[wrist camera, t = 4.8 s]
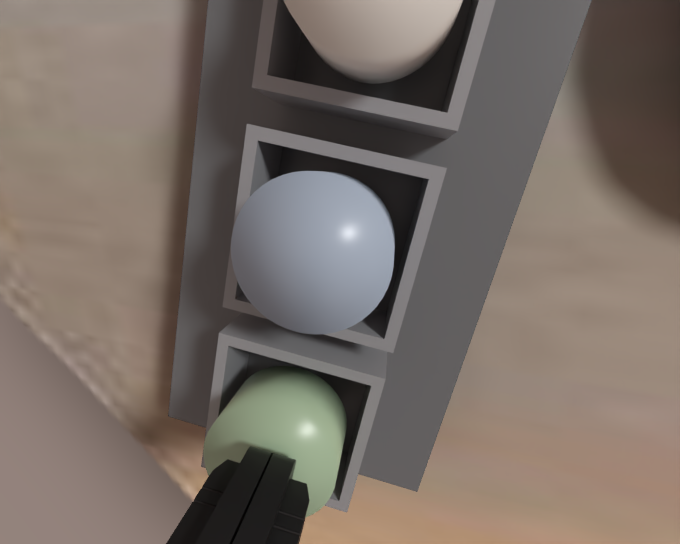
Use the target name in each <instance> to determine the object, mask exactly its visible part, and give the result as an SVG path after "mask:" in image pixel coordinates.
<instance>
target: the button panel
mask: <svg viewBox="0 0 680 544" xmlns="http://www.w3.org/2000/svg"><path fill="white" fill-rule="evenodd" d="M591 1H592V0H463V2H462V4H461V7H460V10H459V12H458V15H457V18H456V21H455V23H454V25H453V27H452V29H451V32H450V34H449V35H448V37H447V39H446V40H445V42H444V44H443V45H442V46H441V48H440V49H439V50H438V51H437V53H436V54H435V55H434V56H433V57H432V58H431V59H430V60H429V61H428V62H427V63H426V64H424V65H423V66H422V67H421V68H419V69H418V70H416V71H415V72H413V73H411V74H410V75H407V76H405V77H403V78H401V79H398V80H395V81H391V82H386V83H376V84H369V83H362V82H357V81H354V80H351V79H348V78H346V77H344V76H342V75H340V74H339V73H337V72H335V71H334V70H333V69H331V68H330V67H329V66H328V65H327V64H326V63H325V62H324V61H323V60H322V59H321V58H320V57H319V55H318V54H317V52H316V51H315V50H314V48H313V47H312V45H311V44H310V42H309V41H308V39H307V38H306V36H305V35H304V33H303V32H302V30H301V29H300V27H299V26H298V24H297V23H296V21H295V20H294V18H293V17H292V15H291V14H290V12H289V10H288V8H287V6H286V4H285V2H284V0H208V8H207V18H206V29H205V39H204V50H203V60H202V70H201V81H200V91H199V102H198V112H197V122H196V133H195V143H194V154H193V164H192V174H191V185H190V195H189V206H188V216H187V226H186V237H185V247H184V258H183V268H182V278H181V289H180V299H179V310H178V320H177V330H176V341H175V351H174V362H173V372H172V382H171V393H170V403H169V414H168V416H169V417H172V418H176V419H179V420H182V421H185V422H189V423H192V424H195V425H199V426H202V427H205V428H206V434H205V438H206V436H207V433H208V431H209V429H210V428H211V426H212V425H213V423H214V422H215V421H216V419H217V418H218V417H219V415H220V414H221V413H222V411H223V410H224V409H225V407H226V406H227V405H228V403H229V402H230V401H231V399H232V398H233V396H234V395H235V394H236V392H237V391H238V390H239V388H240V387H241V386H242V384H243V383H244V382H245V381H246V380H247V379H248V378H249V377H250V376H251V375H253V374H254V373H256V372H258V371H260V370H262V369H265V368H268V367H273V366H293V367H297V368H301V369H304V370H307V371H309V372H311V373H313V374H315V375H317V376H319V377H320V378H322V379H323V380H324V381H325V382H327V383H328V384H329V385H330V386H331V387H332V388H333V389H334V391H335V392H336V393H337V395H338V396H339V398H340V400H341V401H342V404H343V406H344V409H345V412H346V418H347V429H346V434H345V439H344V444H343V449H342V454H341V459H340V464H339V469H338V474H337V479H336V484H335V488H334V491H333V493H332V495H331V497H330V499H329V500H328V501H327V503H326V504H325V506H328V507H331V508H334V509H337V510H341V511H344V512H347V511H348V507H349V504H350V500H351V497H352V493H353V490H354V487H355V483H356V480H357V476H358V474H360V475H363V476H367V477H370V478H373V479H377V480H380V481H383V482H387V483H390V484H393V485H396V486H400V487H403V488H406V489H410V490H413V491H416V492H417V491H418V488H419V485H420V482H421V479H422V477H423V474H424V471H425V468H426V465H427V463H428V460H429V457H430V454H431V451H432V449H433V446H434V443H435V440H436V437H437V434H438V432H439V429H440V426H441V423H442V420H443V418H444V415H445V412H446V409H447V406H448V403H449V401H450V398H451V395H452V392H453V389H454V387H455V384H456V381H457V378H458V375H459V373H460V370H461V367H462V364H463V361H464V358H465V356H466V353H467V350H468V347H469V344H470V342H471V339H472V336H473V333H474V330H475V327H476V325H477V322H478V319H479V316H480V313H481V311H482V308H483V305H484V302H485V299H486V297H487V294H488V291H489V288H490V285H491V282H492V280H493V277H494V274H495V271H496V268H497V266H498V263H499V260H500V257H501V254H502V251H503V249H504V246H505V243H506V240H507V237H508V235H509V232H510V229H511V226H512V223H513V221H514V218H515V215H516V212H517V209H518V206H519V204H520V201H521V198H522V195H523V192H524V190H525V187H526V184H527V181H528V178H529V175H530V173H531V170H532V167H533V164H534V161H535V159H536V156H537V153H538V150H539V147H540V144H541V142H542V139H543V136H544V133H545V130H546V128H547V125H548V122H549V119H550V116H551V114H552V111H553V108H554V105H555V102H556V99H557V97H558V94H559V91H560V88H561V85H562V83H563V80H564V77H565V74H566V71H567V68H568V66H569V63H570V60H571V57H572V54H573V52H574V49H575V46H576V43H577V40H578V38H579V35H580V32H581V29H582V26H583V23H584V21H585V18H586V15H587V12H588V9H589V7H590V4H591ZM299 171H325V172H336V173H342V174H345V175H348V176H351V177H353V178H356V179H358V180H360V181H361V182H363V183H364V184H366V185H367V186H368V187H370V188H371V189H372V190H373V191H374V192H375V193H376V194H377V195H378V196H379V197H380V199H381V200H382V202H383V203H384V205H385V206H386V208H387V210H388V212H389V214H390V217H391V220H392V223H393V228H394V234H395V250H394V267H393V273H392V278H391V281H390V284H389V286H388V289H387V291H386V293H385V295H384V297H383V298H382V300H381V301H380V303H379V304H378V306H377V307H376V308H375V309H374V310H373V311H372V312H371V313H370V314H369V315H368V316H367V317H365V318H364V319H363V320H362V321H360V322H358V323H357V324H355V325H354V326H351V327H349V328H347V329H345V330H341V331H338V332H335V333H329V334H304V333H299V332H295V331H292V330H289V329H286V328H284V327H282V326H279V325H277V324H275V323H274V322H272V321H271V320H269V319H267V318H266V317H265V316H264V315H263V314H261V313H260V312H259V311H258V310H257V309H256V308H255V307H254V306H253V305H252V304H251V302H250V301H249V300H248V299H247V297H246V296H245V294H244V293H243V291H242V289H241V288H240V285H239V283H238V281H237V279H236V276H235V273H234V269H233V265H232V259H231V237H232V232H233V227H234V224H235V221H236V219H237V216H238V214H239V212H240V210H241V208H242V207H243V205H244V204H245V202H246V201H247V200H248V198H249V197H250V196H251V195H252V194H253V193H254V192H255V191H256V190H257V189H259V188H260V187H261V186H262V185H264V184H265V183H267V182H269V181H270V180H272V179H274V178H276V177H279V176H281V175H284V174H288V173H292V172H299ZM201 467H204V468H206V467H205V463H204V456H203V457H202V464H201Z"/></svg>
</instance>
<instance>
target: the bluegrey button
mask: <svg viewBox="0 0 680 544" xmlns="http://www.w3.org/2000/svg"><path fill="white" fill-rule="evenodd" d="M394 250H395V234H394V228H393V223H392V220H391V217H390V214H389V212H388V210H387V208H386V206H385V205H384V203H383V202H382V200H381V199H380V197H379V196H378V195H377V194H376V193H375V192H374V191H373V190H372V189H371V188H370V187H368V186H367V185H366V184H364V183H363V182H361V181H360V180H358V179H356V178H353V177H351V176H348V175H345V174H342V173H336V172H325V171H299V172H292V173H288V174H284V175H281V176H279V177H276V178H274V179H272V180H270V181H269V182H267V183H265V184H264V185H262V186H261V187H260V188H259V189H257V190H256V191H255V192H254V193H253V194H252V195H251V196H250V197H249V198H248V200H247V201H246V202H245V204H244V205H243V207H242V208H241V210H240V212H239V214H238V216H237V219H236V221H235V224H234V227H233V232H232V237H231V259H232V265H233V269H234V273H235V276H236V279H237V281H238V283H239V285H240V288H241V289H242V291H243V293H244V294H245V296H246V297H247V299H248V300H249V301H250V302H251V304H252V305H253V306H254V307H255V308H256V309H257V310H258V311H259V312H260V313H261V314H263V315H264V316H265V317H266V318H267V319H269V320H271V321H272V322H274V323H275V324H277V325H279V326H282V327H284V328H286V329H289V330H292V331H295V332H299V333H304V334H329V333H335V332H338V331H341V330H345V329H347V328H349V327H351V326H354V325H355V324H357V323H358V322H360V321H362V320H363V319H364V318H365V317H367V316H368V315H369V314H370V313H371V312H372V311H373V310H374V309H375V308H376V307H377V306H378V304H379V303H380V301H381V300H382V298H383V297H384V295H385V293H386V291H387V289H388V286H389V284H390V281H391V278H392V273H393V267H394Z"/></svg>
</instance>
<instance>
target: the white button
mask: <svg viewBox="0 0 680 544" xmlns="http://www.w3.org/2000/svg"><path fill="white" fill-rule="evenodd" d="M284 2H285V4H286V6H287V8H288V10H289V12H290V14H291V15H292V17H293V18H294V20H295V21H296V23H297V24H298V26H299V27H300V29H301V30H302V32H303V33H304V35H305V36H306V38H307V39H308V41H309V42H310V44H311V45H312V47H313V48H314V50H315V51H316V52H317V54H318V55H319V57H320V58H321V59H322V60H323V61H324V62H325V63H326V64H327V65H328V66H329V67H330V68H331V69H333V70H334V71H335V72H337V73H339V74H340V75H342V76H344V77H346V78H348V79H351V80H354V81H357V82H362V83H369V84H376V83H386V82H391V81H395V80H398V79H401V78H403V77H405V76H407V75H410V74H411V73H413V72H415V71H416V70H418V69H419V68H421V67H422V66H423V65H424V64H426V63H427V62H428V61H429V60H430V59H431V58H432V57H433V56H434V55H435V54H436V53H437V51H438V50H439V49H440V48H441V46H442V45H443V44H444V42H445V40H446V39H447V37H448V35H449V34H450V32H451V29H452V27H453V25H454V23H455V21H456V18H457V15H458V12H459V10H460V7H461V4H462V2H463V0H284Z"/></svg>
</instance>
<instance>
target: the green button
mask: <svg viewBox="0 0 680 544" xmlns="http://www.w3.org/2000/svg"><path fill="white" fill-rule="evenodd" d="M346 429H347V418H346V412H345V409H344V406H343V404H342V401H341V400H340V398H339V396H338V395H337V393H336V392H335V391H334V389H333V388H332V387H331V386H330V385H329V384H328V383H327V382H325V381H324V380H323V379H322V378H320V377H319V376H317V375H315V374H313V373H311V372H309V371H307V370H304V369H301V368H297V367H293V366H273V367H268V368H265V369H262V370H260V371H258V372H256V373H254V374H253V375H251V376H250V377H249V378H248V379H247V380H246V381H245V382H244V383H243V384H242V386H241V387H240V388H239V390H238V391H237V392H236V394H235V395H234V396H233V398H232V399H231V401H230V402H229V403H228V405H227V406H226V407H225V409H224V410H223V411H222V413H221V414H220V415H219V417H218V418H217V419H216V421H215V422H214V423H213V425H212V426H211V428H210V429H209V431H208V433H207V436H206V438H205V442H204V449H203V456H204V463H205V467H206V470H207V473H208V475H210V474H211V472H212V471H213V470H214V469H215V468H216V467H218V466H219V465H220V464H222V463H223V462H224V461H226V460H227V459H229V460H232V461H235V462H238V463H240V462H241V460H242V459H243V457H244V455H245V453H246V451H247V450H248V448H249V447H250V446H252V447H255V448H259V449H262V450H265V451H268V452H272V453H273V454H274V453H275V454H279V455H282V456H285V457H288V458H292V459H295V460H296V464H295V469H294V473H293V478H292V479H293V480H297V481H300V482H303V483H306V484H307V487H308V494H309V500H310V501H309V505H308V509H307V513H306V517H308V516H310V515H312V514H314V513H315V512H317V511H318V510H320V509H321V508H322V507H323V506H324V505H325V504H326V503H327V501H328V500H329V499H330V497H331V495H332V493H333V491H334V488H335V484H336V479H337V474H338V469H339V464H340V459H341V454H342V449H343V444H344V439H345V434H346Z"/></svg>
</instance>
